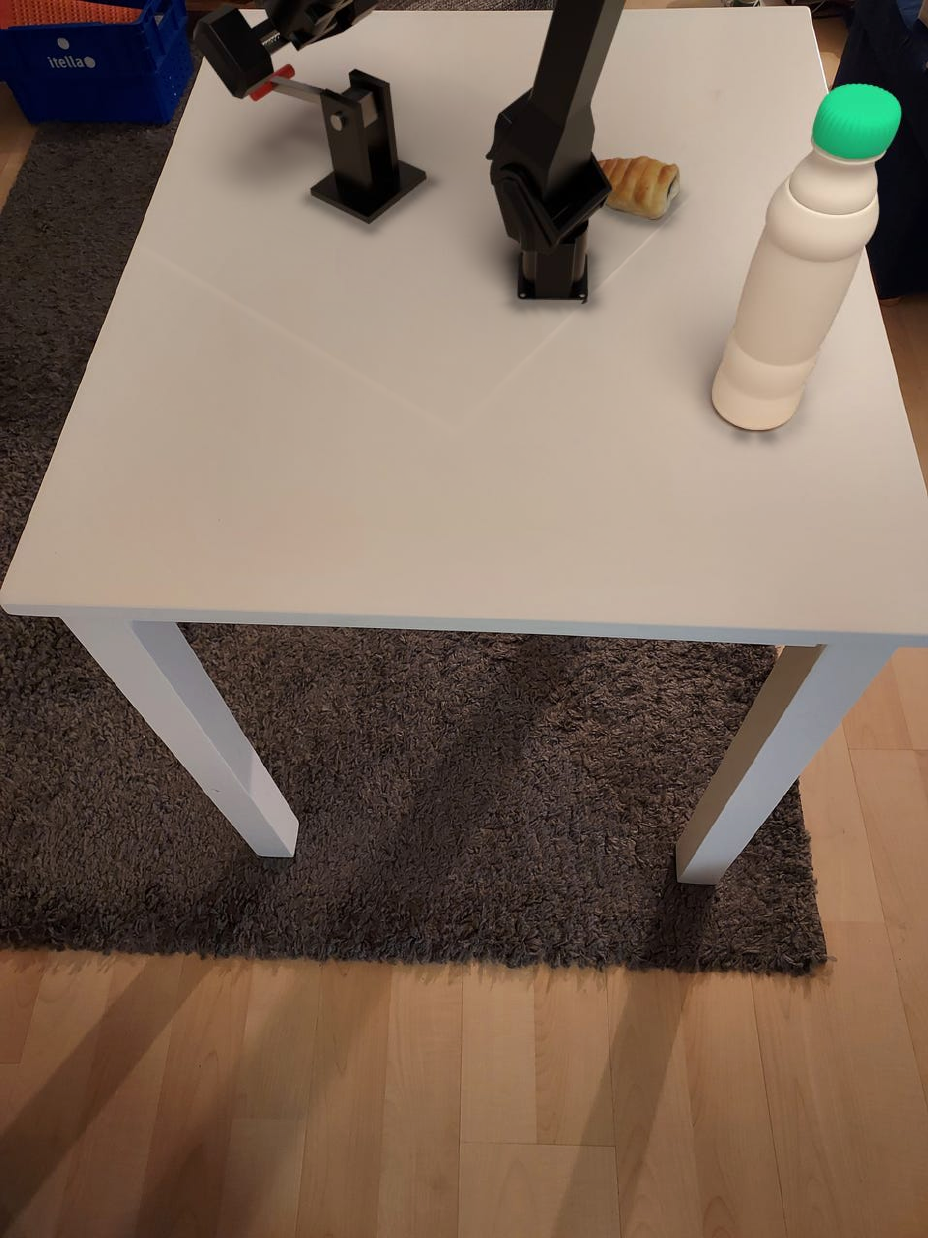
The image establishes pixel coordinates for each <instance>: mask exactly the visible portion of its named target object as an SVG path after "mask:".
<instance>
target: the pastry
mask: <svg viewBox="0 0 928 1238" xmlns="http://www.w3.org/2000/svg"><path fill="white" fill-rule="evenodd" d="M597 161H598V163H599V164H600V166H601V168H602V170H603V171H604V173H605V175H606V177H607V178H608V180H609V182H610V184H611V186H612V188H613V190H612V192H611V194H610V196H609V198H608V200H607V202H606V204H605V205H607V206H608V207H609V208H610V209H614V210H618V211H622V212H626V213H628V214H630V215H634V216H636V217H641V218H647V219H649V220H656V219H657V220H658V219H660V218H661V217H662V216H663V215H664V214H666V213H667V210H668V208H669V207H670V205H671V201H672V200H673V199H675V198H676V196H677V195H678V193H679V191H680V187H681V181H680V180H681V179H680V178H681V173H680V168H679V167H678V165H677V164H676V163H675V162H674V163H671V164H668V163H666V162H663V161H661V160H659V159H656V158H651V157H649V156H647V155H639V156H638V157H634V158H633V157H628V158H623V157H614V158H608V159H599V160H597Z"/></svg>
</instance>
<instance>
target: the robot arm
mask: <svg viewBox="0 0 928 1238" xmlns="http://www.w3.org/2000/svg"><path fill="white" fill-rule="evenodd" d="M257 1H258V2H260V1H261V0H257ZM262 1H263V2H264V5H263V8H264V11H265V14H266V16H267V17H266V19H264V20H263V21H261V22H259V23H257V24H255V25H254V26H253V27H251V25H250V24H249V22H248V21H247V19H246V18H245V17H244V15H243V13H242V12H241V11H240V9H239V7H237V6H235V5H233V4H230V3H227V2H226V3H225V4H223V5H221V6H220V7H218V8H216V9H215V10H212V11H211V12H210V13H208V14H207V15H205V16H203V17H202V18H199V19H198V21H197V23H196V25H195V27H194V30H193V36H192V38H193V39H192V42H193V43H194V44H195V46H196V47H197V49H198V50H199V51H200V53H201V54H202V56H203V57H204V58H205V60H206V61H207V62H208V64H209V65H210V67H211V68H212V69H213V71H214V72H215V74H216V75H217V76H218V78H219V79H220V81H221V82H222V83H223V85H224V86H225V88H226V89H227V91H228V92H229V93H230V95H231V96H232V98H237V99H239V100H244V99H245V98H246V97H248V96H250V94H251V93H253V92H254V91H256V90H257V89H259V88H260V87H262V86H263V85H265V84H266V83H268V80H269V79H270V78H271V76H272V75H273V73H274V72H275V68H274V63H273V60H272V56H273V55H274V54H275V53H277V52H279V51H280V50H282V49H283V48H285V47H287V46H288V45H290V44H291V45H292V46H293V48H294V49H295V50H296V52H297V53H298V52H299V51H301V50H303V49H304V48H306V47H308V46H310V45H313V44H315V43H319V42H321V41H324V40H326V39H330V38H333V37H335V36H338V35H340V34H343V33H344V32H347V31H348V30H350V29H351V28H352V27H354V26H355V25H357V24H358V23H360V22H361V21H362V20H364V19H365V18H367V17H368V16H370V15H371V14H373V12H374V10H375V9H376V8H377V6H378V5H379V4H380V0H262ZM626 2H627V0H555V2H554V6H553V10H552V13H551V16H550V21H549V25H548V28H547V32H546V35H545V40H544V43H543V46H542V51H541V54H540V58H539V60H538V61H539V62H538V65H537V69H536V72H535V76H534V80H533V84H532V86H531V87H530V88H529V89H528V90H526V91H525V92H523V94H522V95H520V96H519V97H518V98H516V99H515V100H514V101H513V102H511V103H510V104H509V105H508V106H506V107H504V109H502V110H501V111H500V112H499V113H497V116H496V119H495V123H494V130H493V140H492V145H491V147H490V150H488V152H487V153H486V154H485V159H486V160H487V161H491V163H490V165H489V166H490V167H489V179H490V180H489V181H490V184H491V186H493V189H494V193H495V197H496V201H497V204H498V207H499V211H500V215H501V218H502V221H503V225H504V229H505V232H506V235H507V237H508V238H510V239H513V240H514V241H516V242H517V244H518V245H519V247H520V250H521V252H519V254H518V268H517V269H518V271H517V273H518V274H517V294H516V296H517V298H518V299H519V300H522V301H524V300H525V301H526V300H529V301H534V300H535V301H582V302H581V304H582V303H586V302H587V301H588V299H589V272H588V271H589V270H588V269H589V267H588V253H587V243H588V234H589V225H590V220H589V219H590V218H591V217H592V216H593V215H595V213H596V212H598V211H599V210H600V209H602V208H603V207H605V205H607V204H606V202H607V200H608V198H609V196H610V194H611V192H612V190H613V188H612V186H611V184H610V182H609V180H608V178H607V177H606V175H605V173H604V171H603V170H602V168H601V166H600V164H599V163H598V161H599V160H598V159H597V158H596V156H595V154H594V152H593V150H592V149H593V145H594V139H595V133H596V125H595V120H594V116H593V112H592V100H593V97H594V94H595V91H596V88H597V86H598V83H599V79H600V77H601V75H602V71H603V68H604V65H605V63H606V61H607V57H608V55H609V51H610V48H611V45H612V42H613V39H614V37H615V34H616V30H617V28H618V25H619V23H620V20H621V16H622V13H623V10H624V7H625V4H626ZM522 295H523V296H522Z"/></svg>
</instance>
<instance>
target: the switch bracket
mask: <svg viewBox="0 0 928 1238" xmlns="http://www.w3.org/2000/svg"><path fill="white" fill-rule="evenodd" d="M347 75H348V80H349V87H351V86H354V87H357V88H361V89H364V90H368V91H372V92H373V95H374V100H375V105H376V110H377V115H378V119H376V120H375V121H373V122H372V123H371V124H369V125H368V126H367V127H364V120H363V113H362V106H361V103H359V102H357V101H354V100H352V99H350V98H348V97H345V96H343V95H341V93H339V92H336V91H334V90H331V89H329V88H327V87H326V88H323V89H324V90H323V91H321V92H320V93H319V94H320V100H321V105H320V106H321V110H322V116H323V121H324V127H325V132H326V137H327V143H328V148H329V154H330V159H331V165H332V170H333V171H331V172H330V173H329V174H327V175H325V177H323V178H322V179H320V180H319V181H318V182H317V183H315V184H313V186H312V187H310V188H309V190H310V195H311V196H312V197H314V198H316V199H318V200H321V201H322V202H324V203H326V204H328V205H330V206H331V207H334V208H336V209H338V210H340V211H342V212H344V213H346V214H347V215H350V216H351V217H353V218H356V219H358V220H360V221H361V222H364V223H366V224H368V225H371V223H373V222H374V221H375V220H376V219H378V218H379V217H380V216H382V215H383V214H384V213H385V212H387V211H388V210H389V209H391V208H392V207H393V206H394V205H395V204H397V203H398V202H399V201H401V199H403V198H404V197H405V196H407V195H408V194H409V193H410V192H412V191H413V190H414V189H416V188H417V187H418V186H419V185H420V184H422V183H423V182H424V181H425V180H426V179H427V171H425V170H423V169H421V168H419V167H416V166H414V165H412V164H410V163H407V162H406V161H403V160H402V159H399V155H398V146H397V145H398V144H397V138H396V128H395V127H396V126H395V118H394V110H393V109H394V108H393V101H392V91H391V84H390V82H388V81H386V80H384V79H381V78H379V77H377V76H374V75H372V74H369V73H367V72H365V71H363V70H360V69H358V68H353V69H352V70H351V71H349V72H348V74H347Z"/></svg>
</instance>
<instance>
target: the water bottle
mask: <svg viewBox="0 0 928 1238" xmlns="http://www.w3.org/2000/svg"><path fill="white" fill-rule="evenodd" d="M901 119H902V107H901V105H900V101H899V100H898V99H897V97H895V96H894V94H893V93H891V92H889V91H888V90H885V89H884V88H881V87H879V86H876V85H875V86H874V85H873V84H867V83H864V84H862V83H857V84H856V83H851V84H850V83H847V84H845V85H840V86H837V87H834V88H833V89H832V90H831V91H829V92H828V93H827V94H826V95H825V96H824V97H823V99H822V100H821V102H820V104H819V106H818V108H817V111H816V114H815V117H814V120H813V123H812V128H811V133H812V134H811V136H810V144H811V146H812V150H811V151H810V152H809V153H808V154H807V155H806V156H805V157H804V158H802V159H801V160H800V161H799V163H797V164H796V166H795V168H794V169H793V171H792V172H791V173H790V174H789V175H788V176H787V177H786V178H784V180H783V181H782V182H781V183H780V184H779V185H778V186H777V188H776V189H775V191H774V192H773V194H772V196H771V197H770V199H769V202H768V205H767V208H766V212H765V224H764V227H763V229H762V231H761V233H760V237H759V239H758V241H757V244H756V247H755V249H754V253H753V255H752V257H751V261H750V264H749V267H748V271H747V273H746V277H745V281H744V283H743V287H742V291H741V294H740V298H739V302H738V306H737V310H736V315H735V320H734V325H733V326H732V328H731V329H730V331H729V334H728V337H727V338H726V342H725V346H724V350H723V355H722V360H721V363H720V364H719V366H718V368H717V372H716V375H715V378H714V380H713V383H712V388H711V399H712V400H711V401H712V403H713V406H714V408H715V409H716V411H717V413H719V415H720V416H721V417H722V418H723V419H725V420H726V421H728V422H729V423H731V424H732V425H734V426H736V427H738V428H742V429H746V430H751V431H765V430H770V429H771V430H772V429H775V428H777V427H780V426H781V425H783V424H785V423H786V422H788V421H789V420H790V419H791V418H792V416H793V415H794V414H795V412H796V410H797V409H798V406H799V403H800V401H801V399H802V396H803V394H804V390H805V387H806V382H808V380H809V378H810V377H811V375H812V374H813V373H812V372H813V371H814V369H815V367H816V364H817V362H818V359H819V356H820V352H821V346H822V345H823V343H824V341H825V339H826V338H827V336H828V334H829V332H830V330H831V328H832V327H833V324H834V322H835V320H836V318H837V316H838V314H839V312H840V310H841V307H842V305H843V303H844V300H845V298H846V296H847V293H848V291H849V290H850V286H851V284H852V281H853V279H854V277H855V274H856V271H857V269H858V266H859V263H860V261H861V257H862V255H863V251H864V248H865V246H866V245H867V244H868V243H869V242H870V240H871V238H872V236H874V233H875V231H876V228H877V225H878V222H879V215H880V204H879V195H878V182H879V181H878V175H877V170H876V167H875V165H876V162H877V161H878V160H880V159H881V158H883V156H884V155H885V154H886V152H887V149H888V148H889V147H890V146H891V145H892V142H893V141H894V139H895V137H896V135H897V133H898V130H899V126H900V123H901Z"/></svg>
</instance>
